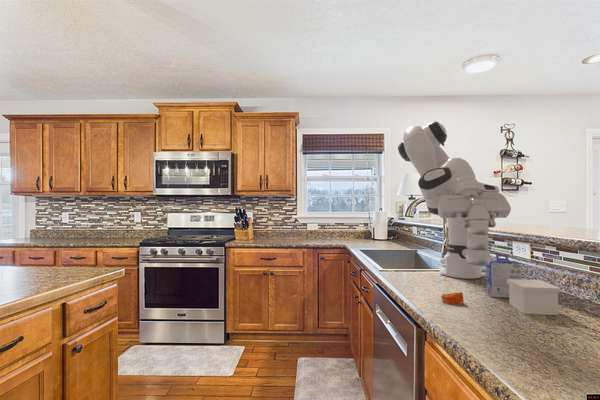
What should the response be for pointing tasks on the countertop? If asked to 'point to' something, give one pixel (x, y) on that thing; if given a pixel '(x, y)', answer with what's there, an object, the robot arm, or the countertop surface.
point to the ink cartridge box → (501, 275)
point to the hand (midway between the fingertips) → (479, 226)
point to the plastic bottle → (478, 234)
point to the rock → (453, 298)
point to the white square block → (533, 296)
